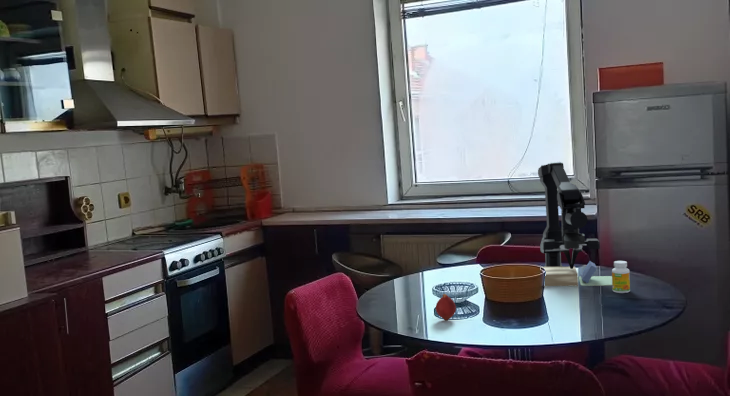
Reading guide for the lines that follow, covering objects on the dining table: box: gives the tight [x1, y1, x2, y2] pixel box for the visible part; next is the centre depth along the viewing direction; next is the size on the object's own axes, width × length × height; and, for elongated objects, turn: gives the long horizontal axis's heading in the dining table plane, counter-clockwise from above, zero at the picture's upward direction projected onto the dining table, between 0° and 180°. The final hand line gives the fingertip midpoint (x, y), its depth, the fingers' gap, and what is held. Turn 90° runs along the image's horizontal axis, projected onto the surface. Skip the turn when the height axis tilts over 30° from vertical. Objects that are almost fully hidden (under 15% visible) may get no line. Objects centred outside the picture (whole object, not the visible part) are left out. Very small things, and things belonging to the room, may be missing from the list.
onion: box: [435, 293, 457, 321], centre depth 206 cm, size 6×6×8 cm
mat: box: [578, 275, 612, 287], centre depth 242 cm, size 13×12×1 cm
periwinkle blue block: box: [580, 260, 598, 283], centre depth 242 cm, size 8×6×2 cm
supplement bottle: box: [611, 260, 631, 294], centre depth 226 cm, size 5×5×10 cm
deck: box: [541, 265, 579, 287], centre depth 245 cm, size 13×12×4 cm
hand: (571, 268), depth 243 cm, fingers closed
